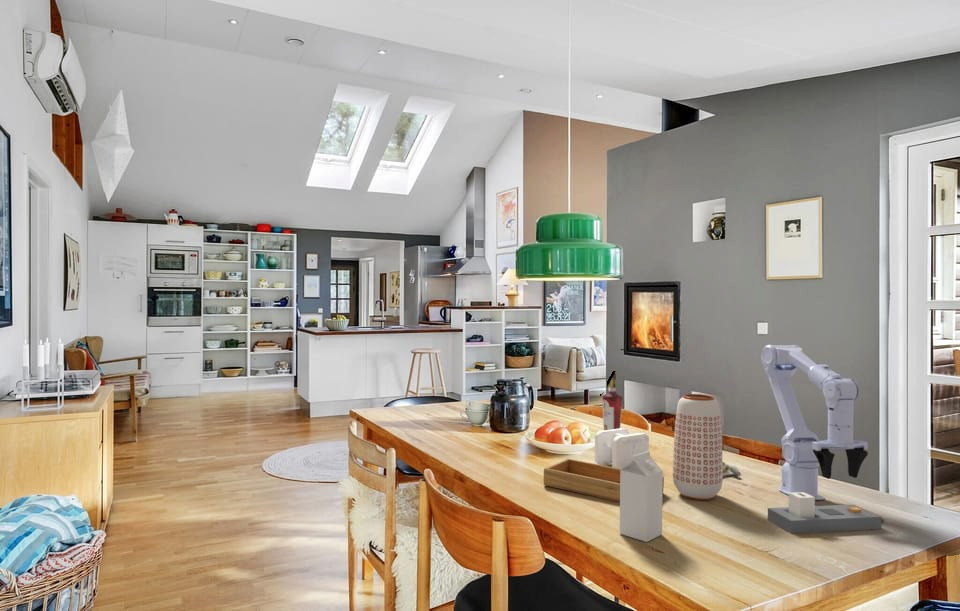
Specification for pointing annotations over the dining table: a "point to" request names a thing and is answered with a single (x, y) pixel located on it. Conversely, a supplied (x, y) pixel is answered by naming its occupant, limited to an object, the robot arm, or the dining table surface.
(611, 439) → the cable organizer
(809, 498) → the block
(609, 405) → the liquor
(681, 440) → the patterned ceramic vase
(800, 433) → the robot arm
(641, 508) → the milk carton
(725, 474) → the salad plate
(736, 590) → the dining table surface
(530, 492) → the dining table surface
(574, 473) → the tray
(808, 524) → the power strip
